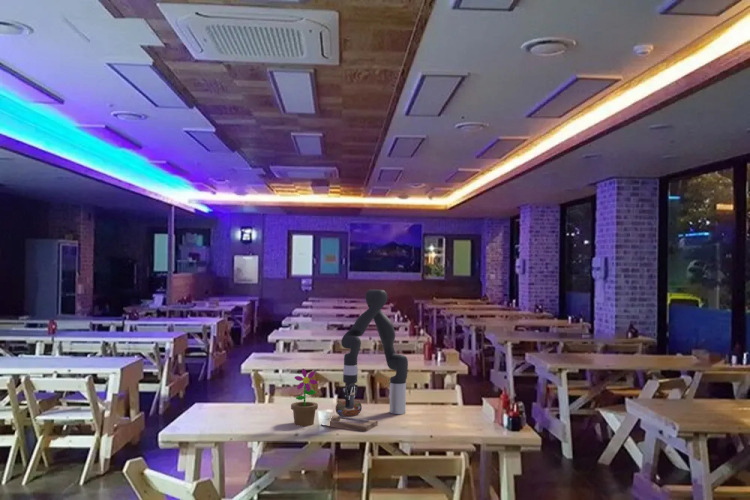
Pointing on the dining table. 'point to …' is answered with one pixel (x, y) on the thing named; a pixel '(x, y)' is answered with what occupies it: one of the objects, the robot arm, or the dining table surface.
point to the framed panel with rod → (352, 426)
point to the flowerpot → (304, 410)
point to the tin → (342, 412)
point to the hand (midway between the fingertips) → (349, 405)
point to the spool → (351, 402)
